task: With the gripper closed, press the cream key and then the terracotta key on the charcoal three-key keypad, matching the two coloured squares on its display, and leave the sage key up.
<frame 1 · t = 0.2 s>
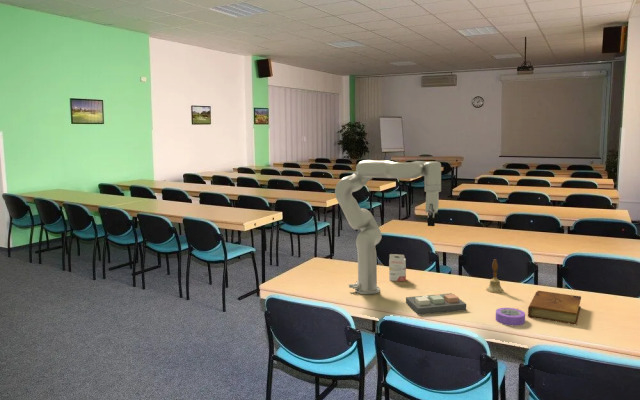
hand: (432, 224, 234), 37 cm above the table, tool pointing down, fingers open, 9 cm apart
masking tape: (510, 321, 211), on the table
ink cartridge box: (397, 280, 270), on the table
key cream: (422, 301, 225), point 4 cm above the table, slide at 0.0 cm
key terracotta: (451, 298, 228), point 4 cm above the table, slide at 0.0 cm
diary: (554, 313, 219), on the table
keypad: (436, 307, 227), on the table
key sage: (436, 300, 227), point 4 cm above the table, slide at 0.0 cm
hand bell: (494, 290, 250), on the table
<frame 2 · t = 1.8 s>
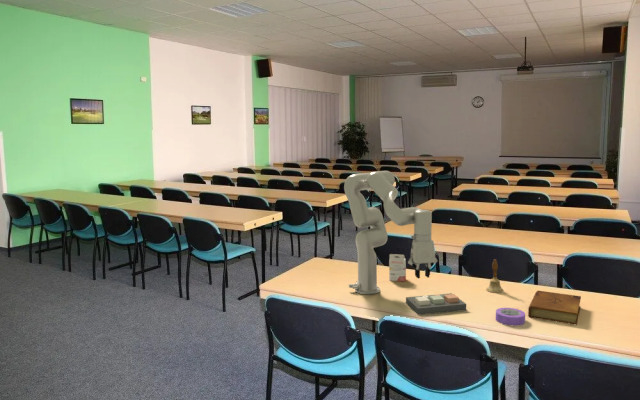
hand: (422, 276, 224), 15 cm above the table, tool pointing down, fingers open, 3 cm apart
nothing on the table moved.
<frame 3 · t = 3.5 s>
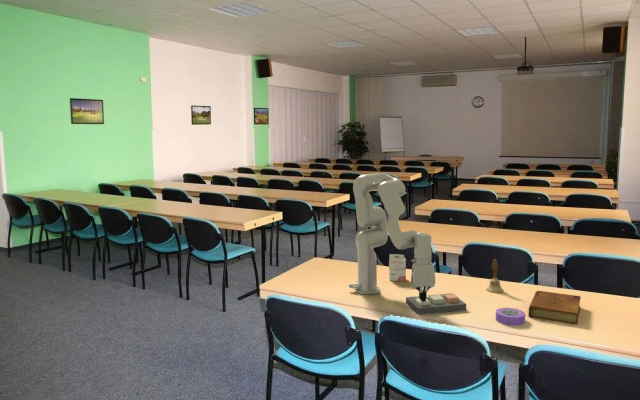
hand: (422, 300, 225), 4 cm above the table, tool pointing down, fingers closed
key cream: (422, 302, 225), point 3 cm above the table, slide at 0.7 cm, touching gripper
everything else where it was.
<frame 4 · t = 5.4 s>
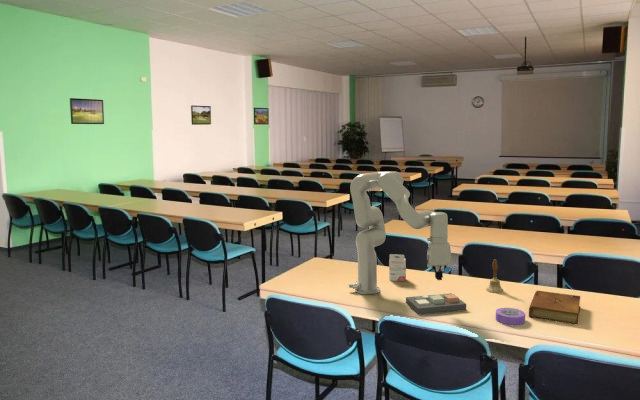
hand: (438, 279, 225), 14 cm above the table, tool pointing down, fingers closed
key cream: (422, 304, 226), point 2 cm above the table, slide at 1.3 cm
everything else where it was.
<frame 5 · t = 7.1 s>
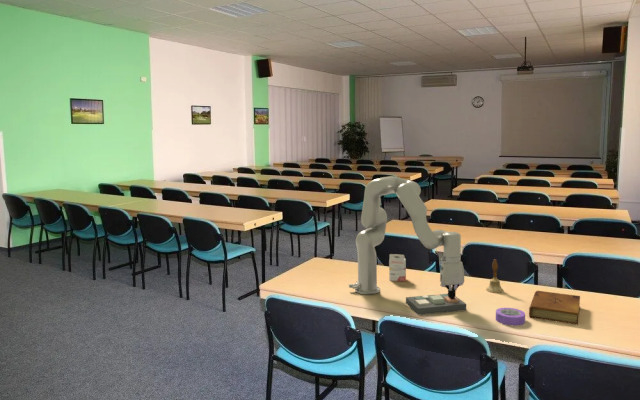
hand: (451, 298, 228), 4 cm above the table, tool pointing down, fingers closed
key terracotta: (451, 300, 228), point 3 cm above the table, slide at 0.9 cm, touching gripper
everything else where it was.
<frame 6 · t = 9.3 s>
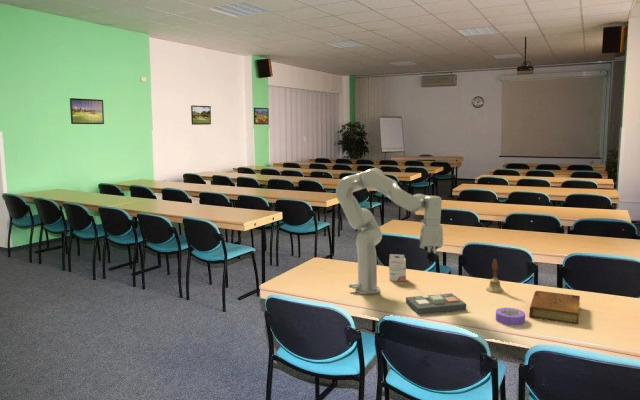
hand: (429, 259, 236), 19 cm above the table, tool pointing down, fingers closed
key terracotta: (451, 301, 228), point 2 cm above the table, slide at 1.3 cm
everything else where it was.
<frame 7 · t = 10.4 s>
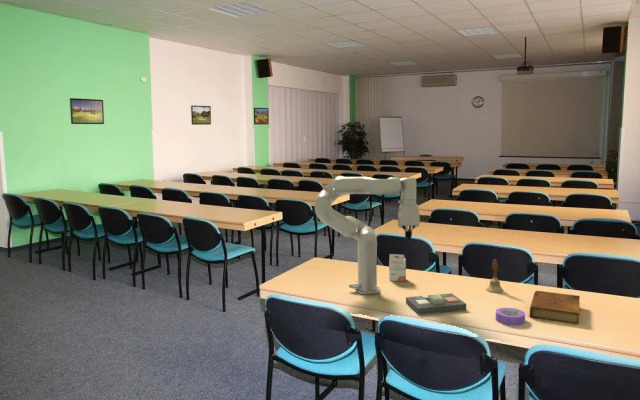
hand: (408, 238, 248), 27 cm above the table, tool pointing down, fingers closed
nothing on the table moved.
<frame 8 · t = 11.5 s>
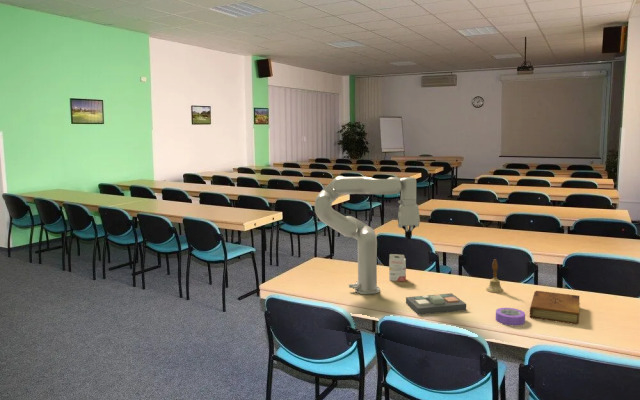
hand: (408, 238, 248), 27 cm above the table, tool pointing down, fingers closed
nothing on the table moved.
at the end: key cream slide at 1.3 cm; key terracotta slide at 1.3 cm; key sage slide at 0.0 cm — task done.
